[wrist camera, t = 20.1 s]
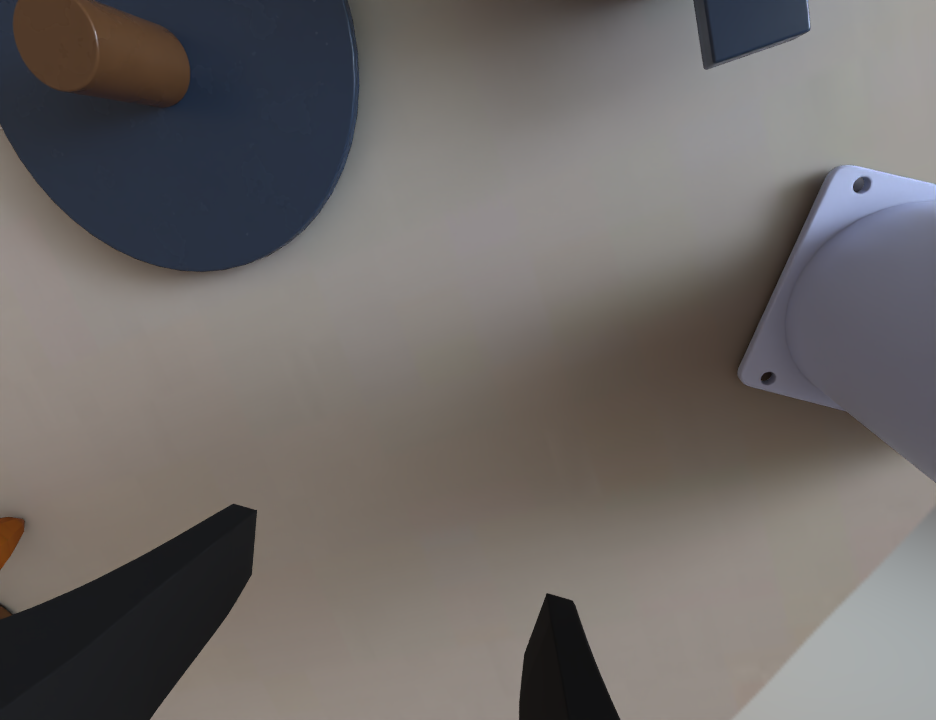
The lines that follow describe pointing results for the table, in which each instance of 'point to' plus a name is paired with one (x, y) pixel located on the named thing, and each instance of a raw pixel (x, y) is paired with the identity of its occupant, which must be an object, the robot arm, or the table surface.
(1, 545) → the carrot
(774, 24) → the pan
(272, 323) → the table surface
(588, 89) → the table surface
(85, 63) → the pan lid
